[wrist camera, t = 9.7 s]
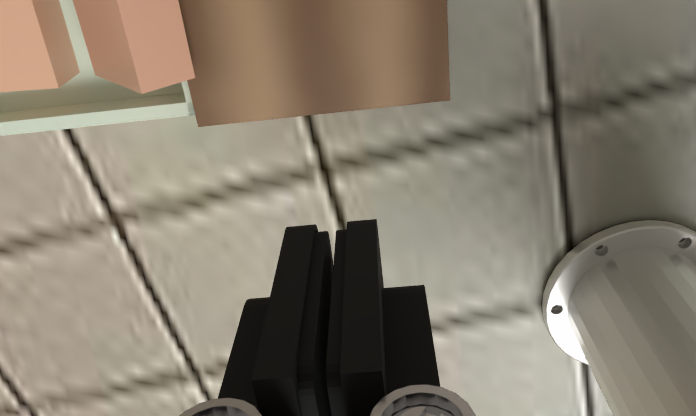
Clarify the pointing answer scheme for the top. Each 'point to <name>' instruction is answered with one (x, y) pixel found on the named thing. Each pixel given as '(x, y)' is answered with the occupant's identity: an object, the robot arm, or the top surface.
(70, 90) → the tray
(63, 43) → the tile
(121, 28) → the tile
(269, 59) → the brown flat block
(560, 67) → the top surface
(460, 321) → the top surface
